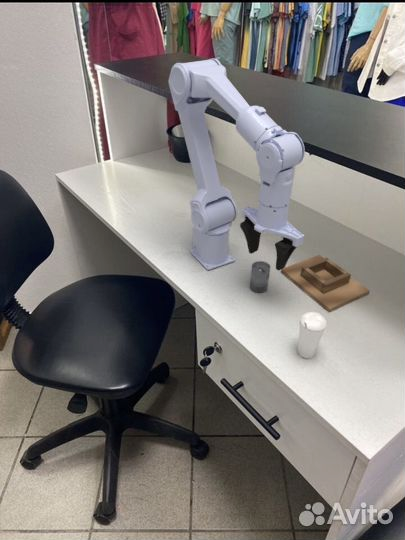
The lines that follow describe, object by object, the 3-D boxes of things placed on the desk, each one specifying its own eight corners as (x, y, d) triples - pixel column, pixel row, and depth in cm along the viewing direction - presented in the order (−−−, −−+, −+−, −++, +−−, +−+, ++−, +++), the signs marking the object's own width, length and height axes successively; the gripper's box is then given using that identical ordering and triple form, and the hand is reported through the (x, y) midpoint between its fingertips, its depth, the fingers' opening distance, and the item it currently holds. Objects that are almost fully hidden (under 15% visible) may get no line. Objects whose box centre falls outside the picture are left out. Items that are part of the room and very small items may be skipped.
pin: (246, 285, 89) (248, 264, 85) (260, 280, 91) (262, 259, 87) (256, 295, 86) (259, 274, 83) (271, 289, 88) (274, 268, 84)
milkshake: (286, 354, 73) (293, 315, 67) (302, 339, 76) (311, 301, 70) (307, 368, 70) (316, 329, 64) (322, 352, 73) (333, 313, 67)
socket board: (280, 272, 93) (282, 260, 91) (318, 258, 98) (320, 246, 95) (328, 312, 82) (332, 299, 80) (368, 294, 87) (372, 281, 84)
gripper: (232, 193, 75) (228, 251, 83) (290, 223, 66) (280, 284, 75) (257, 183, 79) (251, 239, 87) (316, 210, 70) (303, 270, 78)
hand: (266, 259), depth 81 cm, fingers open, 7 cm apart
